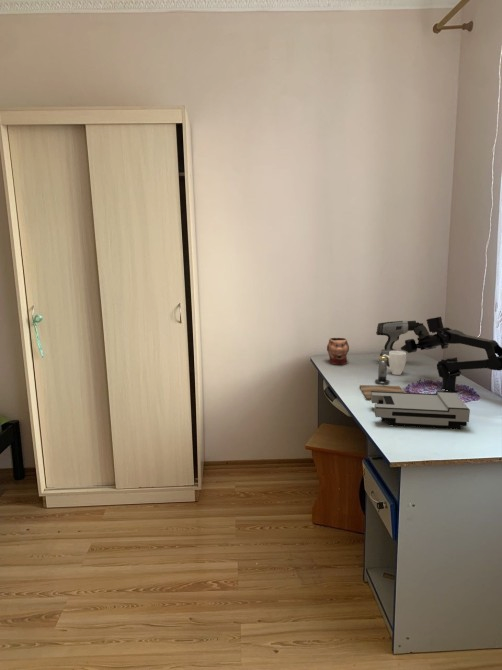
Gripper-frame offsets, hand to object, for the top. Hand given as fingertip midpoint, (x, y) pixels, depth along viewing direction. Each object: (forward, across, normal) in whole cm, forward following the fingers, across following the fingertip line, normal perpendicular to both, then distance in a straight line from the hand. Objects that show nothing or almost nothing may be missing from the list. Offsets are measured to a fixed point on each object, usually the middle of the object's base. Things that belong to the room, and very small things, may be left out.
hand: (407, 347), depth 229 cm
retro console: (-31, +42, +30) cm, 60 cm away
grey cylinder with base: (+5, +18, +14) cm, 23 cm away
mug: (+13, 0, +11) cm, 17 cm away
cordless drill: (+24, -16, +7) cm, 30 cm away
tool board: (-6, +30, +19) cm, 36 cm away
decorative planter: (+44, +8, -1) cm, 45 cm away
